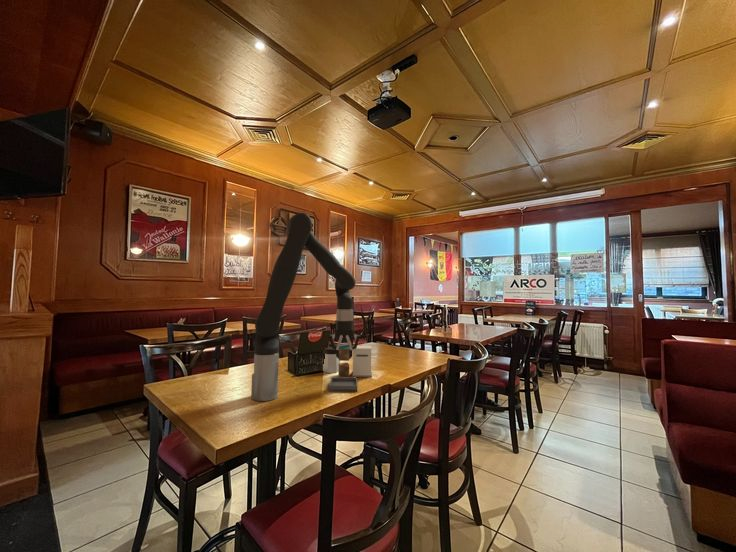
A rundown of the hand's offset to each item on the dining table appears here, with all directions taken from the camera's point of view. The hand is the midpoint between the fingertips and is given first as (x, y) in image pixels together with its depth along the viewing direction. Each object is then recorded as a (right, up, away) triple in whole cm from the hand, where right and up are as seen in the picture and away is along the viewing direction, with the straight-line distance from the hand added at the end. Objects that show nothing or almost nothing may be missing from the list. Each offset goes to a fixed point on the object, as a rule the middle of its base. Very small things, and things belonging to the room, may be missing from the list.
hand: (344, 358), depth 133 cm
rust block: (-2, -14, +17) cm, 22 cm away
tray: (0, -13, -1) cm, 13 cm away
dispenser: (+7, -14, +19) cm, 24 cm away
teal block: (0, -1, 0) cm, 1 cm away
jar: (-9, -14, +26) cm, 31 cm away
